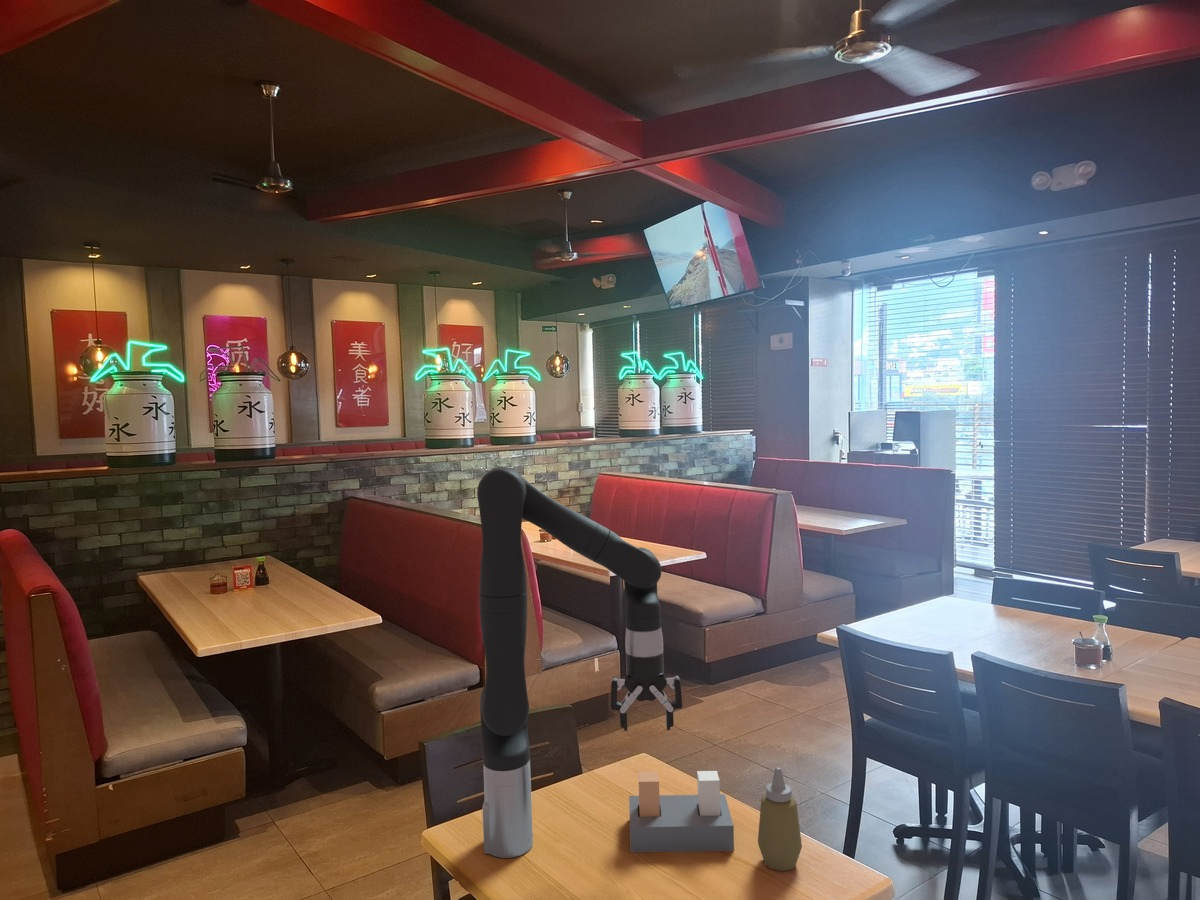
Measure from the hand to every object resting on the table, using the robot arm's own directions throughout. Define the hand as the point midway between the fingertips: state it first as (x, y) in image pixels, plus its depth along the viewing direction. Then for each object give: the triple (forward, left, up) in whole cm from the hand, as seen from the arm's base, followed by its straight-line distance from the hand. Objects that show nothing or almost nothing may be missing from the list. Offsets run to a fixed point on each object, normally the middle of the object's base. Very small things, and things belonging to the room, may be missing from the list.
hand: (647, 729), depth 152 cm
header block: (+6, 0, -22) cm, 23 cm away
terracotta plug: (0, 0, -22) cm, 22 cm away
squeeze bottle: (+24, -10, -22) cm, 34 cm away
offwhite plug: (+12, 0, -22) cm, 25 cm away
